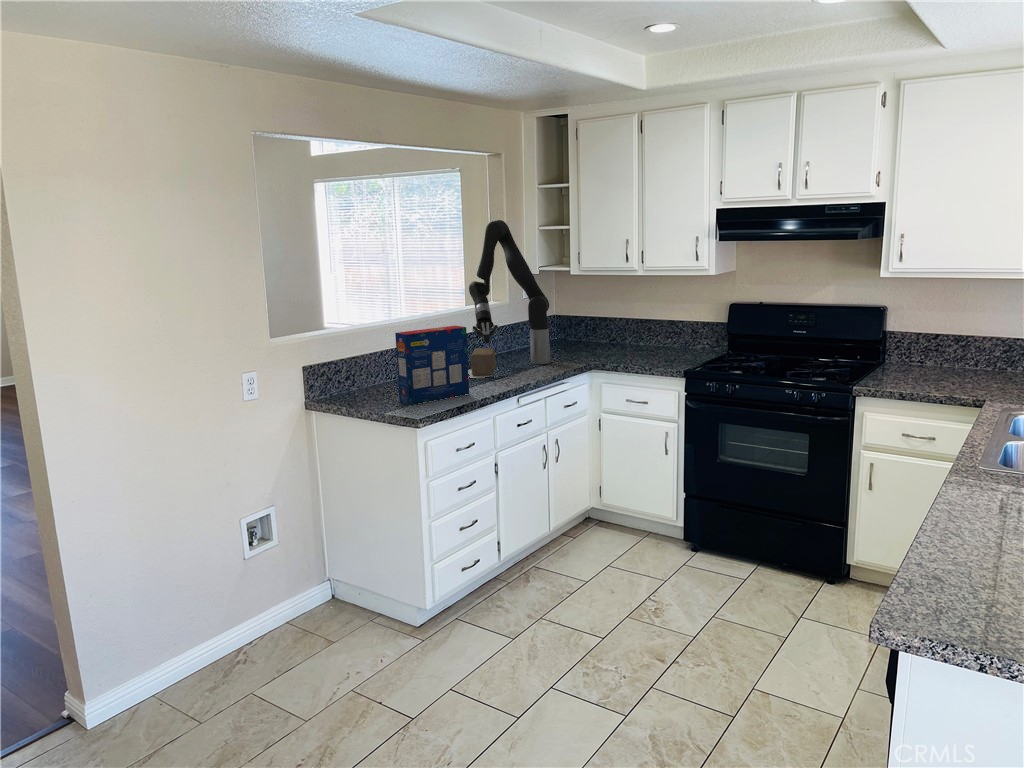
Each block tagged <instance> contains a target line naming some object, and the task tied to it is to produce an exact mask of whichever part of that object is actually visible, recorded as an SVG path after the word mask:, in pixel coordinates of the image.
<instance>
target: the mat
mask: <svg viewBox="0 0 1024 768" xmlns="http://www.w3.org/2000/svg"><path fill="white" fill-rule="evenodd" d="M468 374H469V375H470V376H469V377H470V378H477V379H486V378H485V377H489V376H490V375H487V376H486V375H485V376H473V375H472V368H470V369H468ZM495 375H496V374H495ZM494 378H499V377H498V375H497V376H496V377H495V376H494Z"/></svg>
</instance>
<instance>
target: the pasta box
mask: <svg viewBox="0 0 1024 768" xmlns="http://www.w3.org/2000/svg"><path fill="white" fill-rule="evenodd" d="M467 332H468V331H467V327H466V326H461V325H451V326H440V327H434V328H433V327H432V328H431V327H430V328H426V329H425V328H424V329H415V330H407V331H400V332H399V331H398V332H394V335H395V351H396V352H395V353H396V365H397V366H396V367H397V383H398V395H399V397H398V398H399V403H400V402H401V404H403V403H404V405H406V404H407V405H406V406H409V405H411V406H414V405H413V404H416V405H419V404H418V403H422V404H424V403H423V402H427V403H430V402H429V401H433V402H435V401H434V400H438V401H441V400H440V399H443V400H446V399H445V398H449V399H451V398H450V397H454V398H456V397H455V396H460V395H465V394H469V395H470V384H469V383H470V382H469V380H470V379H469V377H468V370H469V356H468V336H467V335H468V333H467ZM465 396H466V395H465ZM460 397H461V396H460Z"/></svg>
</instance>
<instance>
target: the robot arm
mask: <svg viewBox="0 0 1024 768" xmlns="http://www.w3.org/2000/svg"><path fill="white" fill-rule="evenodd" d="M498 242H499V245H500V246H501V247H502V250H503V252H504V258H505V263H506V268H508V271H509V272H510V274H511V276H512V277H513V279H514V280H515V282H516V283H517V284H518V285H519V286H520V288H521V289H523V291H524V292H525V294H526V297H528V300H529V302H528V305H527V313H528V314H527V315H528V324H529V333H530V334H529V340H530V364H532V365H546V364H551V344H550V339H549V338H550V336H549V334H550V333H549V322H548V311H549V309H550V301H549V299H548V298H547V296H546V295H545V294H544V292H543V291H542V288H541V287H540V286H539V285H538V283H537V281H536V278H535V276H534V275H533V271H531V269H530V267H529V264H528V262H527V261H526V259H525V258H524V256H523V254H522V253H521V250H520V249H519V247H518V245H517V243H516V242H515V239H514V237H513V234H512V233H511V230H510V227H509V226H508V223H506V222H505V221H503V220H501V219H498V220H492V221H490V222H488V223H487V225H486V226H485V232H484V239H483V247H482V253H481V258H480V261H479V265H478V267H477V268H478V269H477V271H476V276H477V278H478V279H480V280H483V281H476V280H475V281H471V282H470V283H469V285H468V293H469V295H470V297H471V299H472V301H473V303H474V314H475V320H476V324H475V325H473V326H472V332H474V333H475V334H476V335H477V336H479V338H480V337H482V338H483V343H485V344H489V343H490V341H491V338H490V337H493V336H494V334H495V333H496V332H497V330H498V328H499V327H498V326H499V325H498V324H494V322H493V321H492V313H491V309H490V308H491V307H490V304H489V303H490V302H489V298H488V295H489V294H490V291H491V285H490V284H491V277H492V276H491V275H492V273H493V272H492V271H493V269H494V264H495V251H496V250H495V249H496V246H497V244H498Z"/></svg>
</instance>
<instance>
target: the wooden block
mask: <svg viewBox="0 0 1024 768" xmlns="http://www.w3.org/2000/svg"><path fill="white" fill-rule="evenodd" d="M470 360H471V362H470V363H471V369H472V375H473V376H485V375H493V373H494V370H495V368H497V367H496V366H497V365H496V363H497V361H496V349H495V347H479V348H478V347H477V348H474V350H473V351H472V354H471V357H470Z"/></svg>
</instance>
